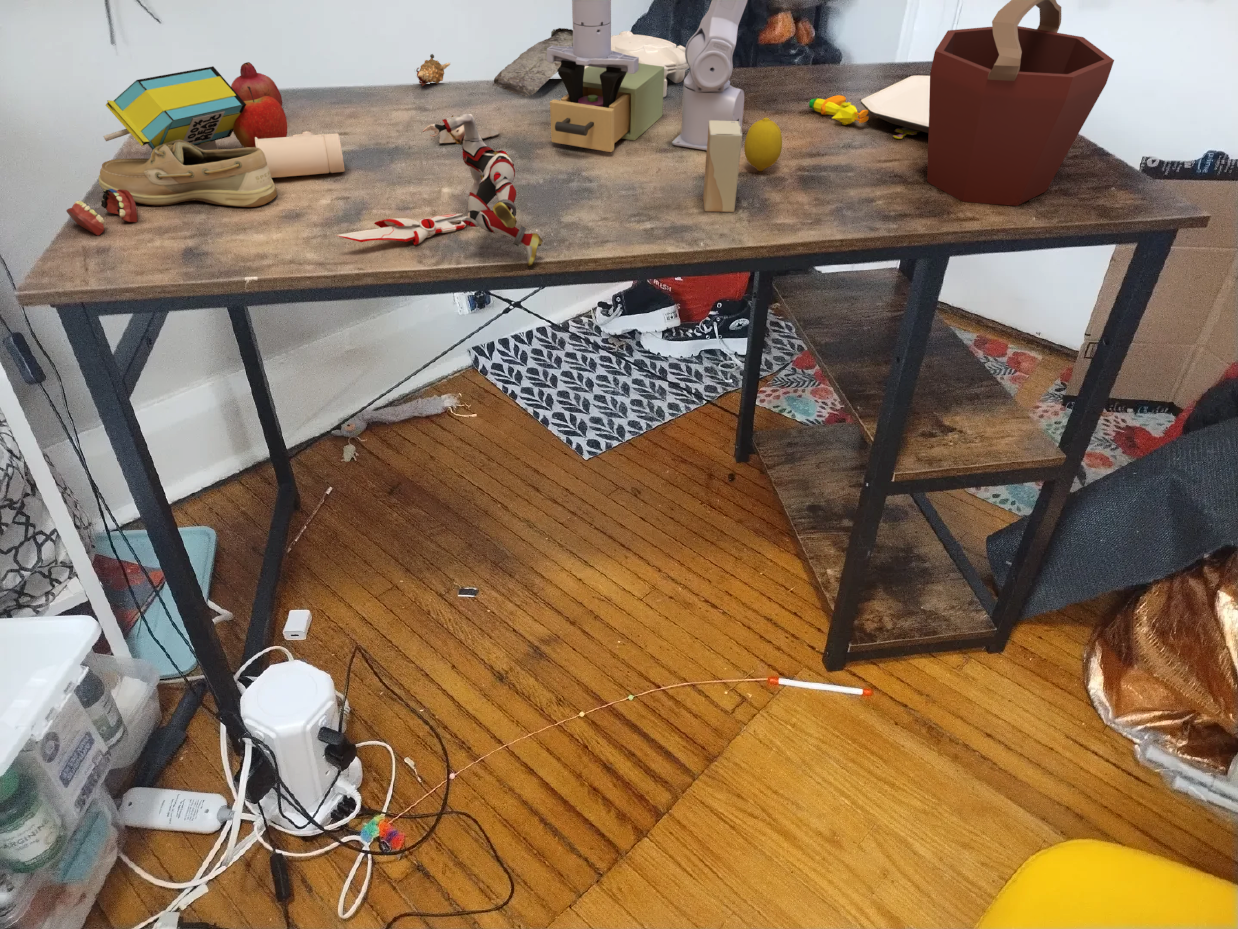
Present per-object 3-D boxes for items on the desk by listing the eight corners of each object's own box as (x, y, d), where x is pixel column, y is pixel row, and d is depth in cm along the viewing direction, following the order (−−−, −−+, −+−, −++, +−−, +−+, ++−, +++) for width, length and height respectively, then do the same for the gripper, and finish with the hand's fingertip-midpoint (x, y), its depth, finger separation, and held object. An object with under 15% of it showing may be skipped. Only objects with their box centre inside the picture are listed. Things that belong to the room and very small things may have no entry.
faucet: (254, 141, 125) (339, 134, 128) (255, 124, 135) (334, 119, 138) (263, 185, 128) (346, 178, 131) (264, 165, 138) (340, 159, 141)
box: (702, 196, 128) (708, 118, 121) (732, 197, 128) (740, 119, 120) (704, 212, 124) (710, 133, 117) (735, 213, 124) (742, 133, 116)
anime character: (372, 317, 101) (314, 199, 115) (458, 374, 114) (396, 261, 127) (519, 179, 97) (440, 73, 110) (591, 255, 110) (512, 151, 123)
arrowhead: (439, 148, 142) (501, 145, 145) (439, 141, 141) (501, 138, 143) (436, 131, 145) (496, 128, 147) (435, 123, 144) (496, 120, 146)
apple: (249, 168, 134) (231, 100, 128) (233, 151, 139) (215, 85, 133) (301, 156, 138) (286, 90, 131) (284, 140, 143) (268, 75, 136)
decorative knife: (928, 117, 152) (952, 125, 149) (927, 120, 152) (951, 128, 149) (883, 131, 146) (907, 140, 143) (883, 134, 147) (907, 143, 144)
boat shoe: (93, 202, 124) (70, 145, 119) (126, 176, 131) (107, 121, 126) (262, 215, 123) (247, 158, 117) (288, 188, 129) (275, 133, 124)
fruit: (285, 132, 145) (270, 68, 139) (233, 136, 144) (216, 71, 138) (289, 115, 151) (275, 53, 145) (240, 118, 150) (223, 56, 144)
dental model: (55, 197, 116) (115, 179, 121) (67, 227, 119) (124, 208, 124) (77, 210, 114) (137, 191, 119) (88, 240, 117) (146, 220, 121)
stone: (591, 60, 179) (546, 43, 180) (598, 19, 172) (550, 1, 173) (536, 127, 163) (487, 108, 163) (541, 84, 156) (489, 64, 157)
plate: (1014, 162, 136) (1019, 148, 134) (845, 117, 149) (848, 103, 148) (1073, 118, 153) (1078, 105, 152) (917, 82, 167) (920, 69, 166)
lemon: (777, 164, 137) (784, 111, 132) (779, 179, 133) (786, 125, 127) (741, 163, 137) (747, 110, 132) (742, 177, 133) (747, 123, 128)
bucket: (998, 231, 120) (1057, 33, 104) (868, 179, 133) (902, -4, 117) (1093, 181, 132) (1159, -4, 115) (965, 137, 145) (1008, -34, 128)
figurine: (397, 82, 161) (413, 103, 163) (414, 70, 158) (431, 92, 160) (435, 48, 169) (450, 69, 171) (452, 36, 166) (467, 58, 168)
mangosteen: (612, 120, 142) (612, 93, 140) (600, 130, 139) (600, 102, 136) (586, 116, 144) (585, 89, 141) (573, 126, 140) (573, 98, 138)
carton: (194, 102, 135) (88, 124, 121) (211, 64, 130) (103, 83, 116) (228, 141, 135) (127, 167, 122) (247, 105, 130) (143, 128, 117)
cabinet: (634, 140, 144) (635, 89, 139) (570, 130, 148) (568, 79, 142) (662, 115, 153) (664, 66, 148) (601, 106, 156) (600, 57, 151)
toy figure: (880, 119, 149) (830, 104, 157) (880, 98, 147) (830, 83, 155) (849, 134, 147) (801, 118, 155) (849, 113, 145) (800, 97, 153)
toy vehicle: (547, 31, 169) (548, 65, 173) (598, 74, 152) (599, 111, 156) (657, 15, 176) (656, 48, 180) (718, 54, 159) (716, 90, 163)
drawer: (601, 161, 135) (600, 119, 131) (540, 150, 138) (538, 109, 134) (639, 127, 146) (639, 88, 142) (581, 118, 149) (581, 79, 145)
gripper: (535, 22, 131) (540, 115, 140) (626, 33, 127) (625, 129, 135) (557, 10, 136) (560, 101, 145) (644, 21, 132) (642, 114, 140)
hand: (592, 114), depth 140 cm, fingers closed on mangosteen, 5 cm apart
